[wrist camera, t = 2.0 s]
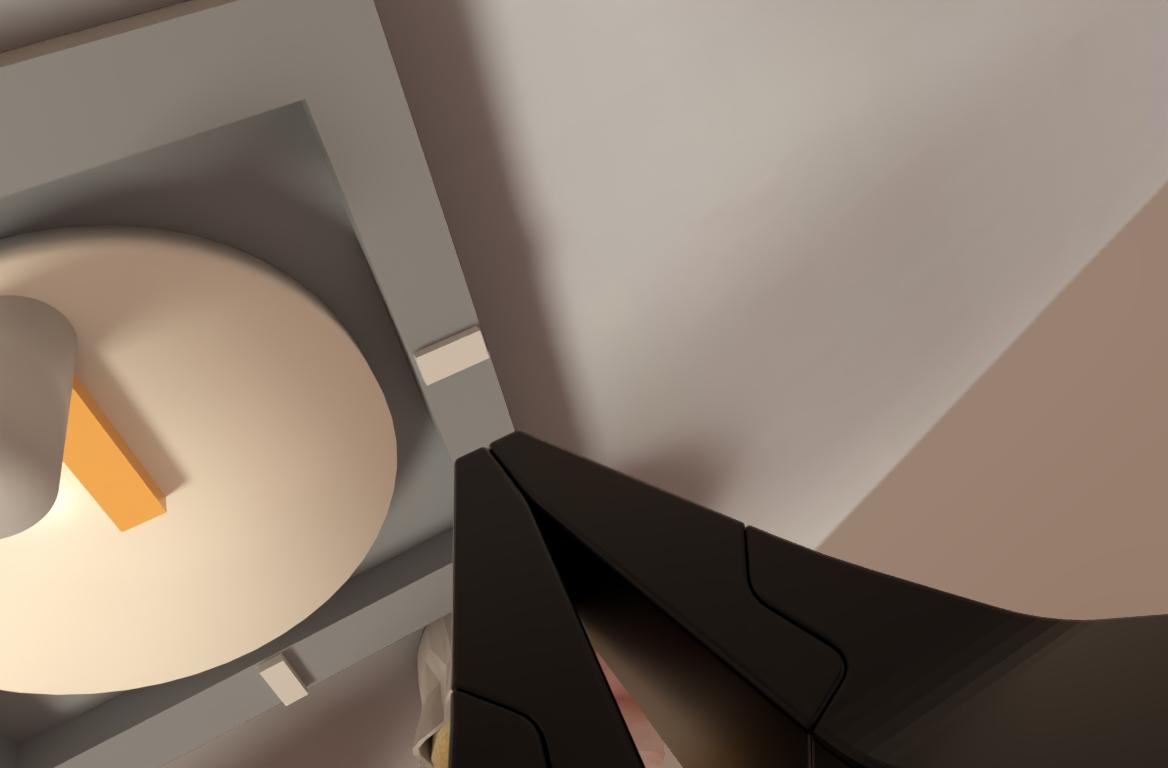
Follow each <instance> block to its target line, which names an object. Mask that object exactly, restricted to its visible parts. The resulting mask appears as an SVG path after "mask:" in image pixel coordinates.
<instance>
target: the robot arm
mask: <svg viewBox="0 0 1168 768" xmlns="http://www.w3.org/2000/svg"><path fill="white" fill-rule="evenodd" d="M591 643H592V644H591ZM592 645H593V646H594V648H595V649H596V650H597V652H598V653H599V654H600V656H601V657H602V658H603V660H604V661H605V662H606V664H607V665H608V667H609V668H610V669H611V671H612V672H613V673H614V675H615V676H616V677H617V679H618V680H619V681H620V683H621V684H622V685H623V687H624V688H625V690H626V691H627V692H628V694H629V695H630V696H631V698H632V699H633V700H634V702H635V703H636V704H637V706H638V707H639V709H640V710H641V711H642V713H643V714H644V715H645V717H646V718H647V719H648V721H649V722H650V723H651V725H652V726H653V728H654V729H655V730H656V732H657V733H658V734H659V736H660V737H661V738H662V740H663V741H664V742H665V744H666V745H667V746H668V748H669V749H670V751H671V752H672V753H673V755H674V756H675V757H676V758H677V760H678V761H679V763H680V764H681V765H682V767H683V768H1168V614H1162V615H1149V616H1136V617H1123V618H1111V619H1099V620H1064V619H1055V618H1046V617H1039V616H1033V615H1028V614H1023V613H1018V612H1014V611H1010V610H1006V609H1002V608H999V607H995V606H991V605H988V604H985V603H981V602H978V601H975V600H971V599H968V598H965V597H961V596H958V595H955V594H951V593H948V592H944V591H941V590H938V589H935V588H931V587H928V586H924V585H921V584H918V583H914V582H911V581H908V580H904V579H901V578H898V577H894V576H891V575H887V574H884V573H881V572H877V571H874V570H871V569H868V568H865V567H862V566H859V565H856V564H852V563H849V562H846V561H843V560H840V559H837V558H834V557H831V556H828V555H825V554H822V553H819V552H817V551H814V550H811V549H809V548H806V547H804V546H801V545H798V544H796V543H793V542H790V541H788V540H785V539H783V538H780V537H777V536H775V535H772V534H770V533H768V532H765V531H763V530H760V529H758V528H756V527H753V526H750V525H749V526H747V527H746V528H745V525H744V523H743V522H740V521H738V520H735V519H733V518H731V517H728V516H726V515H723V514H721V513H719V512H716V511H714V510H711V509H709V508H706V507H704V506H702V505H699V504H697V503H694V502H692V501H689V500H687V499H685V498H682V497H680V496H677V495H675V494H673V493H670V492H668V491H665V490H663V489H660V488H658V487H656V486H653V485H651V484H648V483H646V482H643V481H641V480H639V479H636V478H634V477H631V476H629V475H627V474H624V473H622V472H619V471H617V470H614V469H612V468H610V467H607V466H605V465H602V464H600V463H597V462H595V461H593V460H590V459H588V458H585V457H583V456H581V455H578V454H576V453H573V452H571V451H568V450H566V449H564V448H561V447H559V446H556V445H554V444H552V443H549V442H547V441H544V440H542V439H539V438H537V437H535V436H532V435H530V434H527V433H525V432H522V431H514V432H512V433H510V434H508V435H505V436H503V437H501V438H499V439H497V440H495V441H493V442H491V443H490V445H489V449H487V448H486V447H480V448H478V449H476V450H474V451H472V452H470V453H468V454H466V455H463V456H461V457H459V458H458V459H456V461H455V463H454V493H453V564H452V635H451V689H452V691H453V692H452V693H451V695H450V732H449V751H448V768H646V767H645V765H644V763H643V761H642V758H641V756H640V754H639V751H638V749H637V747H636V745H635V742H634V740H633V738H632V735H631V733H630V731H629V729H628V726H627V724H626V722H625V720H624V717H623V715H622V713H621V710H620V708H619V706H618V704H617V701H616V699H615V697H614V694H613V692H612V690H611V688H610V685H609V683H608V681H607V678H606V676H605V674H604V672H603V669H602V667H601V665H600V662H599V660H598V658H597V656H596V653H595V651H594V649H593V647H592Z"/></svg>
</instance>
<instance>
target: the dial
mask: <svg viewBox="0 0 1168 768" xmlns="http://www.w3.org/2000/svg"><path fill="white" fill-rule="evenodd" d="M396 471H397V442H396V437H395V431H394V426H393V420H392V416H391V413H390V411H389V408H388V405H387V402H386V399H385V397H384V394H383V392H382V390H381V388H380V386H379V384H378V382H377V380H376V378H375V376H374V374H373V373H372V371H371V369H370V367H369V365H368V363H367V361H366V359H365V357H364V356H363V354H362V352H361V350H360V348H359V346H358V345H357V343H356V341H355V339H354V338H353V336H352V335H351V334H350V332H349V331H348V330H347V328H346V327H345V326H344V324H343V323H342V322H341V320H340V319H339V318H338V317H337V316H336V315H335V314H334V313H333V312H332V311H331V310H330V309H329V308H328V307H327V306H326V305H325V304H324V303H323V302H322V301H321V300H320V299H319V298H318V297H317V296H316V295H315V294H314V293H312V292H311V291H310V290H308V289H307V288H306V287H304V286H303V285H302V284H300V283H299V282H298V281H296V280H295V279H294V278H292V277H291V276H289V275H288V274H286V273H284V272H282V271H281V270H279V269H277V268H275V267H274V266H272V265H270V264H268V263H267V262H265V261H263V260H261V259H259V258H257V257H254V256H252V255H250V254H247V253H245V252H243V251H240V250H238V249H235V248H233V247H231V246H228V245H225V244H222V243H218V242H215V241H211V240H208V239H205V238H201V237H198V236H195V235H191V234H185V233H179V232H174V231H168V230H163V229H157V228H150V227H136V226H121V225H92V226H67V227H60V228H54V229H47V230H41V231H34V232H27V233H22V234H18V235H15V236H11V237H7V238H4V239H0V690H5V691H12V692H19V693H35V694H52V695H66V694H95V693H104V692H114V691H123V690H130V689H136V688H141V687H146V686H151V685H157V684H162V683H166V682H169V681H173V680H177V679H180V678H184V677H188V676H191V675H195V674H198V673H201V672H203V671H206V670H209V669H212V668H214V667H217V666H220V665H223V664H225V663H228V662H230V661H232V660H234V659H237V658H239V657H241V656H243V655H245V654H247V653H250V652H252V651H254V650H256V649H258V648H260V647H261V646H263V645H265V644H267V643H268V642H270V641H272V640H274V639H275V638H277V637H279V636H281V635H282V634H284V633H285V632H287V631H288V630H290V629H291V628H293V627H294V626H295V625H297V624H298V623H300V622H301V621H303V620H304V619H306V618H307V617H308V616H309V615H311V614H312V613H313V612H314V611H315V610H316V609H318V608H319V607H320V606H321V605H322V604H324V603H325V602H326V601H327V600H328V599H329V598H330V597H331V596H332V595H333V594H334V593H335V592H336V591H337V590H338V589H339V588H340V587H341V586H342V585H343V584H344V583H345V582H346V581H347V580H348V578H349V577H350V576H351V575H352V573H353V572H354V571H355V570H356V568H357V567H358V566H359V564H360V563H361V562H362V561H363V559H364V558H365V556H366V554H367V553H368V551H369V549H370V548H371V546H372V544H373V543H374V541H375V540H376V538H377V536H378V534H379V531H380V529H381V527H382V525H383V522H384V520H385V518H386V516H387V513H388V509H389V506H390V502H391V499H392V495H393V492H394V486H395V478H396Z"/></svg>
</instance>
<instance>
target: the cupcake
mask: <svg viewBox="0 0 1168 768" xmlns="http://www.w3.org/2000/svg"><path fill="white" fill-rule="evenodd" d="M451 635H452V612H450V613H449V614H447V615H445V616H443V617H441V618H439V619H437V620H435V621H434V622H432V623H430V624H428V625H426V627H425V630H424V632H423V635H422V638H421V641H420V645H419V650H418V656H417V670H418V683H419V691H420V697H421V702H422V710H421V714H420V718H419V722H418V726H417V730H416V734H415V738H414V742H413V746H412V752H413V755H414V757H415V758H416V759H417V760H419V761H420V768H448V751H449V732H450V695H451V693H452V692H453V691H452V689H451ZM591 644H592V643H591ZM592 647H593V649H594V651H595V653H596V656H597V658H598V660H599V662H600V665H601V667H602V669H603V672H604V674H605V676H606V678H607V681H608V683H609V685H610V688H611V690H612V692H613V694H614V697H615V699H616V701H617V704H618V706H619V708H620V710H621V713H622V715H623V717H624V720H625V722H626V724H627V726H628V729H629V731H630V733H631V735H632V738H633V740H634V742H635V745H636V747H637V749H638V751H639V754H640V756H641V758H642V761H643V763H644V765H645V767H646V768H660V767H661V765H662V763H663V759H664V755H665V752H664V745H663V741H662V738H661V737H660V736H659V734H658V733H657V732H656V730H655V729H654V728H653V726H652V725H651V723H650V722H649V721H648V719H647V718H646V717H645V715H644V714H643V713H642V711H641V710H640V709H639V707H638V706H637V704H636V703H635V702H634V700H633V699H632V698H631V696H630V695H629V694H628V692H627V691H626V690H625V688H624V687H623V685H622V684H621V683H620V681H619V680H618V679H617V677H616V676H615V675H614V673H613V672H612V671H611V669H610V668H609V667H608V665H607V664H606V662H605V661H604V660H603V658H602V657H601V656H600V654H599V653H598V652H597V650H596V649H595V648H594V646H593V645H592Z"/></svg>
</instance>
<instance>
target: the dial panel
mask: <svg viewBox="0 0 1168 768" xmlns="http://www.w3.org/2000/svg"><path fill="white" fill-rule="evenodd" d="M92 225H121V226H136V227H150V228H157V229H163V230H168V231H174V232H179V233H185V234H191V235H195V236H198V237H201V238H205V239H208V240H211V241H215V242H218V243H222V244H225V245H228V246H231V247H233V248H235V249H238V250H240V251H243V252H245V253H247V254H250V255H252V256H254V257H257V258H259V259H261V260H263V261H265V262H267V263H268V264H270V265H272V266H274V267H275V268H277V269H279V270H281V271H282V272H284V273H286V274H288V275H289V276H291V277H292V278H294V279H295V280H296V281H298V282H299V283H300V284H302V285H303V286H304V287H306V288H307V289H308V290H310V291H311V292H312V293H314V294H315V295H316V296H317V297H318V298H319V299H320V300H321V301H322V302H323V303H324V304H325V305H326V306H327V307H328V308H329V309H330V310H331V311H332V312H333V313H334V314H335V315H336V316H337V317H338V318H339V319H340V320H341V322H342V323H343V324H344V326H345V327H346V328H347V330H348V331H349V332H350V334H351V335H352V336H353V338H354V339H355V341H356V343H357V345H358V346H359V348H360V350H361V352H362V354H363V356H364V357H365V359H366V361H367V363H368V365H369V367H370V369H371V371H372V373H373V374H374V376H375V378H376V380H377V382H378V384H379V386H380V388H381V390H382V392H383V394H384V397H385V399H386V402H387V405H388V408H389V411H390V413H391V416H392V420H393V426H394V431H395V437H396V442H397V471H396V478H395V486H394V492H393V495H392V499H391V502H390V506H389V509H388V513H387V516H386V518H385V520H384V522H383V525H382V527H381V529H380V531H379V534H378V536H377V538H376V540H375V541H374V543H373V544H372V546H371V548H370V549H369V551H368V553H367V554H366V556H365V558H364V559H363V561H362V562H361V563H360V564H359V566H358V567H357V568H356V570H355V571H354V572H353V573H352V575H351V576H350V577H349V578H348V580H347V581H346V582H345V583H344V584H343V585H342V586H341V587H340V588H339V589H338V590H337V591H336V592H335V593H334V594H333V595H332V596H331V597H330V598H329V599H328V600H327V601H326V602H325V603H324V604H322V605H321V606H320V607H319V608H318V609H316V610H315V611H314V612H313V613H312V614H311V615H309V616H308V617H307V618H306V619H304V620H303V621H301V622H300V623H298V624H297V625H295V626H294V627H293V628H291V629H290V630H288V631H287V632H285V633H284V634H282V635H281V636H279V637H277V638H275V639H274V640H272V641H270V642H268V643H267V644H265V645H263V646H261V647H260V648H258V649H256V650H254V651H252V652H250V653H247V654H245V655H243V656H241V657H239V658H237V659H234V660H232V661H230V662H228V663H225V664H223V665H220V666H217V667H214V668H212V669H209V670H206V671H203V672H201V673H198V674H195V675H191V676H188V677H184V678H180V679H177V680H173V681H169V682H166V683H162V684H157V685H151V686H146V687H141V688H136V689H130V690H123V691H114V692H104V693H95V694H66V695H52V694H35V693H19V692H12V691H5V690H0V768H160V767H162V766H163V765H165V764H167V763H169V762H171V761H173V760H175V759H177V758H178V757H180V756H182V755H184V754H186V753H188V752H190V751H192V750H193V749H195V748H197V747H199V746H201V745H203V744H205V743H207V742H208V741H210V740H212V739H214V738H216V737H218V736H220V735H222V734H223V733H225V732H227V731H229V730H231V729H233V728H235V727H237V726H238V725H240V724H242V723H244V722H246V721H248V720H250V719H252V718H254V717H255V716H257V715H259V714H261V713H263V712H265V711H267V710H269V709H270V708H272V707H274V706H276V705H278V704H280V703H282V702H283V703H284V705H285V706H287V705H289V704H291V703H293V702H295V701H297V700H299V699H300V698H302V697H304V696H306V695H308V691H307V689H308V688H310V687H312V686H314V685H315V684H317V683H319V682H321V681H323V680H325V679H327V678H329V677H330V676H332V675H334V674H336V673H338V672H340V671H342V670H344V669H345V668H347V667H349V666H351V665H353V664H355V663H357V662H359V661H360V660H362V659H364V658H366V657H368V656H370V655H372V654H374V653H375V652H377V651H379V650H381V649H383V648H385V647H387V646H389V645H390V644H392V643H394V642H396V641H398V640H400V639H402V638H404V637H405V636H407V635H409V634H411V633H413V632H415V631H417V630H419V629H420V628H422V627H424V626H426V625H428V624H430V623H432V622H434V621H435V620H437V619H439V618H441V617H443V616H445V615H447V614H449V613H450V612H452V564H453V493H454V463H455V461H456V459H458V458H459V457H461V456H463V455H466V454H468V453H470V452H472V451H474V450H476V449H478V448H480V447H486V448H487V449H489V445H490V443H491V442H493V441H495V440H497V439H499V438H501V437H503V436H505V435H508V434H510V433H512V432H514V431H515V430H514V427H513V424H512V421H511V418H510V415H509V412H508V409H507V406H506V402H505V399H504V396H503V393H502V390H501V387H500V384H499V381H498V378H497V375H496V372H495V369H494V366H493V363H492V360H491V357H490V354H489V351H488V348H487V345H486V342H485V339H484V335H483V332H482V329H481V326H480V323H479V320H478V317H477V314H476V311H475V308H474V305H473V302H472V299H471V296H470V293H469V290H468V287H467V284H466V281H465V278H464V275H463V272H462V268H461V265H460V262H459V259H458V256H457V253H456V250H455V247H454V244H453V241H452V238H451V235H450V232H449V229H448V226H447V223H446V220H445V217H444V214H443V211H442V208H441V205H440V201H439V198H438V195H437V192H436V189H435V186H434V183H433V180H432V177H431V174H430V171H429V168H428V165H427V162H426V159H425V156H424V153H423V150H422V147H421V144H420V141H419V138H418V134H417V131H416V128H415V125H414V122H413V119H412V116H411V113H410V110H409V107H408V104H407V101H406V98H405V95H404V92H403V89H402V86H401V83H400V80H399V77H398V74H397V71H396V67H395V64H394V61H393V58H392V55H391V52H390V49H389V46H388V43H387V40H386V37H385V34H384V31H383V28H382V25H381V22H380V19H379V16H378V13H377V10H376V7H375V4H374V0H189V1H185V2H182V3H178V4H175V5H171V6H167V7H164V8H160V9H157V10H153V11H149V12H146V13H142V14H139V15H135V16H131V17H128V18H124V19H121V20H117V21H113V22H110V23H106V24H103V25H99V26H95V27H92V28H88V29H85V30H81V31H77V32H74V33H70V34H67V35H63V36H59V37H56V38H52V39H49V40H45V41H41V42H38V43H34V44H31V45H27V46H23V47H20V48H16V49H13V50H9V51H5V52H2V53H0V239H4V238H7V237H11V236H15V235H18V234H22V233H27V232H34V231H41V230H47V229H54V228H60V227H67V226H92Z"/></svg>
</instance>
